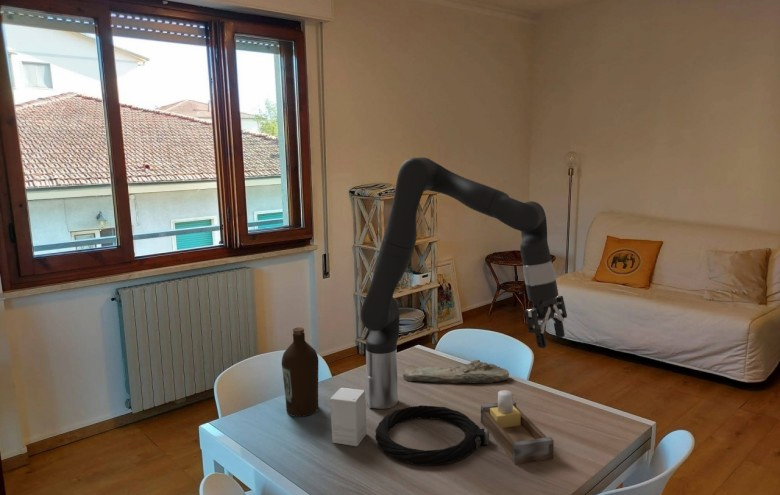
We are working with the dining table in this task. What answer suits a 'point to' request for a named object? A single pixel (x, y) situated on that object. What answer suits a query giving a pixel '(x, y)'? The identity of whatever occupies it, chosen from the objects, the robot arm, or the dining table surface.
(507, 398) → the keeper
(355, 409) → the supplement box
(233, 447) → the dining table surface
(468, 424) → the cable lock
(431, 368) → the long grey stone
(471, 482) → the dining table surface
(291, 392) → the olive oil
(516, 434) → the wooden tray
